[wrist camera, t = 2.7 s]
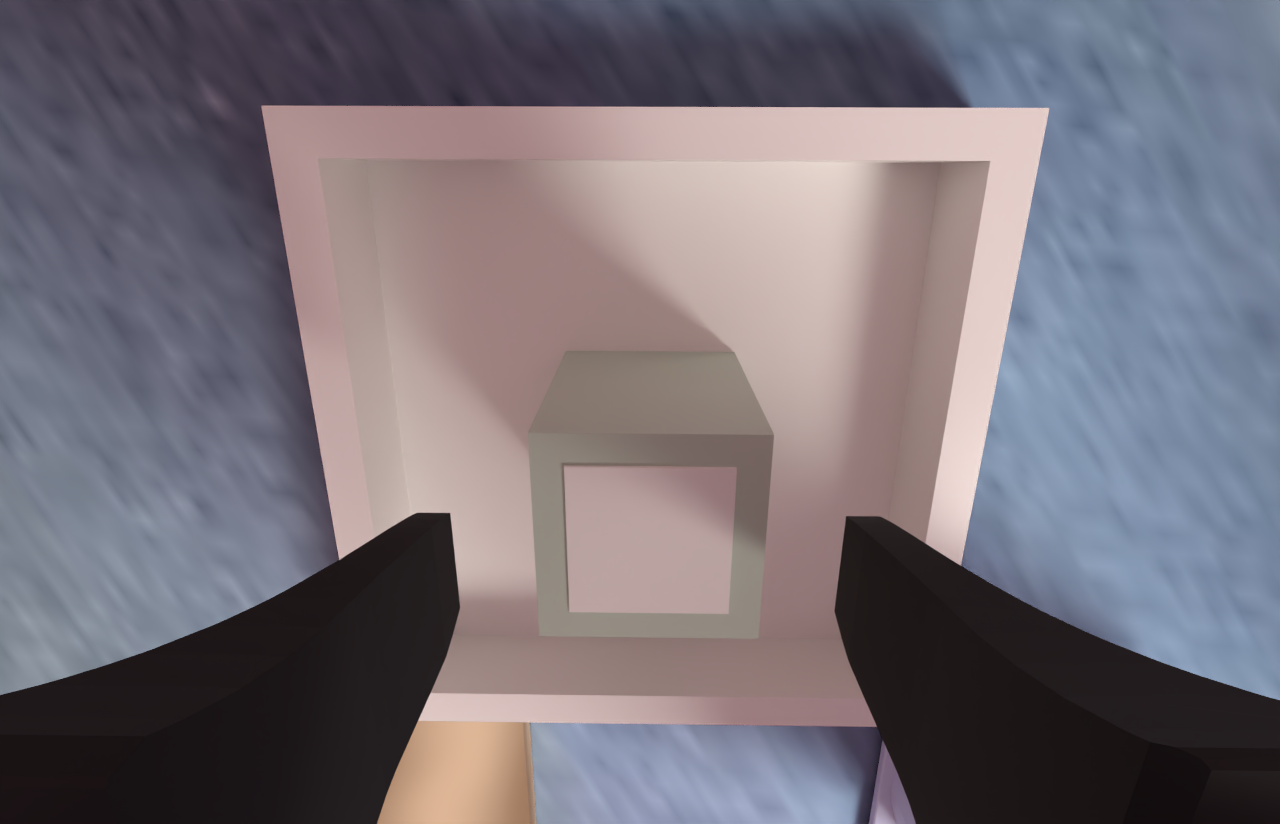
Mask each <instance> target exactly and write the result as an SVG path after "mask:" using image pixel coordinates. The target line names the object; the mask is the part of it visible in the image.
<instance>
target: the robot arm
mask: <svg viewBox="0 0 1280 824" xmlns="http://www.w3.org/2000/svg"><path fill="white" fill-rule="evenodd" d="M459 610H460V601H459V591H458V582H457V572H456V563H455V553H454V544H453V534H452V524H451V515H450V513H415V514H413V515H411V516H409V517H407V518H406V519H404V520H402V521H401V522H399V523H397V524H396V525H394V526H392V527H391V528H389V529H387V530H386V531H384V532H383V533H381V534H380V535H378V536H376V537H375V538H373V539H372V540H370V541H369V542H367V543H365V544H364V545H362V546H361V547H359V548H357V549H356V550H354V551H353V552H351V553H349V554H348V555H346V556H345V557H343V558H341V559H340V560H338V561H337V562H335V563H333V564H331V565H330V566H328V567H326V568H324V569H323V570H321V571H319V572H317V573H316V574H314V575H312V576H310V577H309V578H307V579H305V580H303V581H302V582H300V583H298V584H297V585H295V586H293V587H291V588H290V589H288V590H286V591H284V592H282V593H280V594H278V595H276V596H275V597H273V598H271V599H269V600H267V601H265V602H263V603H261V604H259V605H257V606H255V607H252V608H250V609H248V610H246V611H244V612H242V613H240V614H237V615H235V616H233V617H231V618H229V619H227V620H224V621H222V622H220V623H218V624H215V625H213V626H210V627H208V628H205V629H203V630H200V631H198V632H195V633H193V634H190V635H188V636H185V637H183V638H180V639H177V640H175V641H172V642H170V643H167V644H165V645H162V646H160V647H157V648H155V649H152V650H149V651H147V652H144V653H141V654H138V655H135V656H132V657H129V658H126V659H123V660H120V661H117V662H114V663H111V664H108V665H105V666H102V667H99V668H96V669H93V670H89V671H86V672H83V673H80V674H76V675H73V676H70V677H67V678H63V679H60V680H56V681H53V682H49V683H46V684H42V685H39V686H35V687H31V688H27V689H23V690H19V691H15V692H11V693H7V694H3V695H0V824H377V822H378V819H379V816H380V813H381V810H382V807H383V804H384V801H385V798H386V795H387V792H388V790H389V787H390V785H391V782H392V780H393V777H394V774H395V772H396V769H397V767H398V765H399V763H400V760H401V758H402V756H403V754H404V751H405V749H406V747H407V745H408V742H409V740H410V738H411V736H412V733H413V731H414V729H415V727H416V724H417V722H418V720H419V718H420V715H421V713H422V711H423V709H424V707H425V704H426V702H427V700H428V698H429V695H430V693H431V691H432V689H433V686H434V684H435V682H436V679H437V677H438V675H439V672H440V670H441V668H442V665H443V663H444V661H445V658H446V656H447V653H448V649H449V646H450V643H451V639H452V636H453V633H454V629H455V625H456V621H457V618H458V614H459ZM834 612H835V615H836V619H837V623H838V627H839V630H840V634H841V638H842V641H843V645H844V648H845V651H846V655H847V658H848V661H849V664H850V666H851V668H852V671H853V673H854V675H855V678H856V680H857V682H858V685H859V687H860V689H861V692H862V694H863V696H864V699H865V701H866V703H867V705H868V708H869V710H870V712H871V714H872V717H873V719H874V721H875V723H876V726H877V728H878V730H879V732H880V735H881V737H882V739H883V741H882V747H881V753H880V759H879V765H878V771H877V777H876V783H875V789H874V795H873V802H872V808H871V814H870V820H869V824H1280V700H1276V699H1272V698H1269V697H1265V696H1262V695H1258V694H1255V693H1252V692H1249V691H1245V690H1242V689H1239V688H1236V687H1233V686H1230V685H1227V684H1223V683H1220V682H1217V681H1214V680H1211V679H1208V678H1205V677H1201V676H1198V675H1195V674H1193V673H1190V672H1187V671H1184V670H1181V669H1178V668H1175V667H1173V666H1170V665H1167V664H1164V663H1161V662H1159V661H1156V660H1153V659H1151V658H1148V657H1146V656H1143V655H1141V654H1138V653H1136V652H1133V651H1130V650H1128V649H1125V648H1123V647H1120V646H1118V645H1115V644H1113V643H1110V642H1108V641H1105V640H1103V639H1101V638H1098V637H1096V636H1094V635H1091V634H1089V633H1087V632H1084V631H1082V630H1080V629H1078V628H1076V627H1074V626H1072V625H1070V624H1067V623H1065V622H1063V621H1061V620H1059V619H1057V618H1055V617H1053V616H1050V615H1048V614H1046V613H1044V612H1042V611H1040V610H1038V609H1036V608H1034V607H1032V606H1030V605H1028V604H1027V603H1025V602H1023V601H1021V600H1019V599H1017V598H1015V597H1014V596H1012V595H1010V594H1008V593H1007V592H1005V591H1003V590H1001V589H999V588H998V587H996V586H994V585H992V584H990V583H989V582H987V581H985V580H984V579H982V578H980V577H978V576H977V575H975V574H973V573H972V572H970V571H968V570H967V569H965V568H964V567H962V566H960V565H959V564H957V563H955V562H954V561H952V560H951V559H949V558H947V557H946V556H944V555H943V554H941V553H940V552H938V551H936V550H935V549H933V548H932V547H930V546H929V545H927V544H926V543H924V542H922V541H921V540H919V539H918V538H916V537H915V536H913V535H911V534H910V533H908V532H907V531H905V530H903V529H902V528H900V527H899V526H897V525H895V524H894V523H892V522H890V521H888V520H886V519H884V518H882V517H880V516H846V521H845V529H844V537H843V545H842V553H841V561H840V569H839V578H838V586H837V594H836V602H835V610H834Z"/></svg>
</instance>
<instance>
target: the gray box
mask: <svg viewBox="0 0 1280 824" xmlns="http://www.w3.org/2000/svg"><path fill="white" fill-rule="evenodd" d="M773 443H774V433H773V431H772V429H771V427H770V425H769V423H768V421H767V419H766V417H765V415H764V413H763V411H762V409H761V406H760V404H759V402H758V400H757V398H756V396H755V394H754V392H753V390H752V388H751V386H750V384H749V382H748V379H747V377H746V375H745V373H744V371H743V369H742V367H741V365H740V363H739V361H738V359H737V357H736V354H735V352H681V351H566V352H565V354H564V356H563V358H562V361H561V363H560V365H559V367H558V369H557V371H556V373H555V376H554V378H553V380H552V382H551V384H550V386H549V388H548V390H547V393H546V395H545V397H544V399H543V401H542V403H541V405H540V408H539V410H538V412H537V414H536V416H535V418H534V420H533V422H532V425H531V427H530V429H529V431H528V447H529V464H530V482H531V500H532V517H533V535H534V552H535V570H536V587H537V605H538V622H539V636H559V637H646V638H734V639H758V636H759V623H760V611H761V598H762V585H763V572H764V559H765V546H766V533H767V520H768V507H769V494H770V482H771V469H772V456H773Z"/></svg>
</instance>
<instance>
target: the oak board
mask: <svg viewBox="0 0 1280 824" xmlns="http://www.w3.org/2000/svg"><path fill="white" fill-rule="evenodd" d="M377 824H536V809H535V794H534V779H533V764H532V749H531V734H530V722H457V721H418V722H417V724H416V727H415V729H414V731H413V733H412V736H411V738H410V740H409V742H408V745H407V747H406V749H405V751H404V754H403V756H402V758H401V760H400V763H399V765H398V767H397V769H396V772H395V774H394V777H393V780H392V782H391V785H390V787H389V790H388V792H387V795H386V798H385V801H384V804H383V807H382V810H381V813H380V816H379V819H378V822H377Z"/></svg>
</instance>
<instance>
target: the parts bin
mask: <svg viewBox="0 0 1280 824" xmlns="http://www.w3.org/2000/svg"><path fill="white" fill-rule="evenodd" d="M261 107H262V113H263V119H264V125H265V131H266V136H267V142H268V148H269V154H270V160H271V165H272V171H273V177H274V183H275V189H276V195H277V200H278V206H279V212H280V218H281V224H282V230H283V235H284V241H285V247H286V253H287V259H288V265H289V270H290V276H291V282H292V288H293V294H294V299H295V305H296V311H297V317H298V323H299V329H300V334H301V340H302V346H303V352H304V358H305V364H306V369H307V375H308V381H309V387H310V393H311V398H312V404H313V410H314V416H315V422H316V428H317V433H318V439H319V445H320V451H321V457H322V463H323V468H324V474H325V480H326V486H327V492H328V497H329V503H330V509H331V515H332V521H333V527H334V532H335V538H336V544H337V550H338V556H339V560H340V559H341V558H343V557H345V556H346V555H348V554H349V553H351V552H353V551H354V550H356V549H357V548H359V547H361V546H362V545H364V544H365V543H367V542H369V541H370V540H372V539H373V538H375V537H376V536H378V535H380V534H381V533H383V532H384V531H386V530H387V529H389V528H391V527H392V526H394V525H396V524H397V523H399V522H401V521H402V520H404V519H406V518H407V517H409V516H411V515H413V514H415V513H450V515H451V524H452V534H453V544H454V553H455V563H456V572H457V582H458V591H459V601H460V610H459V614H458V618H457V621H456V625H455V629H454V633H453V636H452V639H451V643H450V646H449V649H448V653H447V656H446V658H445V661H444V663H443V665H442V668H441V670H440V672H439V675H438V677H437V679H436V682H435V684H434V686H433V689H432V691H431V693H430V695H429V698H428V700H427V702H426V704H425V707H424V709H423V711H422V713H421V715H420V718H419V720H418V721H457V722H535V723H613V724H691V725H769V726H848V727H877V726H876V723H875V721H874V719H873V717H872V714H871V712H870V710H869V708H868V705H867V703H866V701H865V699H864V696H863V694H862V692H861V689H860V687H859V685H858V682H857V680H856V678H855V675H854V673H853V671H852V668H851V666H850V664H849V661H848V658H847V655H846V651H845V648H844V645H843V641H842V638H841V634H840V630H839V627H838V623H837V619H836V615H835V612H834V610H835V602H836V594H837V586H838V578H839V569H840V561H841V553H842V545H843V537H844V529H845V521H846V516H880V517H882V518H884V519H886V520H888V521H890V522H892V523H894V524H895V525H897V526H899V527H900V528H902V529H903V530H905V531H907V532H908V533H910V534H911V535H913V536H915V537H916V538H918V539H919V540H921V541H922V542H924V543H926V544H927V545H929V546H930V547H932V548H933V549H935V550H936V551H938V552H940V553H941V554H943V555H944V556H946V557H947V558H949V559H951V560H952V561H954V562H955V563H957V564H959V565H960V566H961V563H962V557H963V552H964V547H965V542H966V537H967V532H968V526H969V521H970V516H971V511H972V506H973V501H974V495H975V490H976V485H977V480H978V475H979V470H980V464H981V459H982V454H983V449H984V444H985V439H986V433H987V428H988V423H989V418H990V413H991V407H992V402H993V397H994V392H995V387H996V382H997V376H998V371H999V366H1000V361H1001V356H1002V351H1003V345H1004V340H1005V335H1006V330H1007V325H1008V320H1009V314H1010V309H1011V304H1012V299H1013V294H1014V288H1015V283H1016V278H1017V273H1018V268H1019V263H1020V257H1021V252H1022V247H1023V242H1024V237H1025V232H1026V226H1027V221H1028V216H1029V211H1030V206H1031V201H1032V195H1033V190H1034V185H1035V180H1036V175H1037V170H1038V164H1039V159H1040V154H1041V149H1042V144H1043V138H1044V133H1045V128H1046V123H1047V118H1048V113H1049V108H856V107H540V106H261ZM566 351H681V352H735V354H736V357H737V359H738V361H739V363H740V365H741V367H742V369H743V371H744V373H745V375H746V377H747V379H748V382H749V384H750V386H751V388H752V390H753V392H754V394H755V396H756V398H757V400H758V402H759V404H760V406H761V409H762V411H763V413H764V415H765V417H766V419H767V421H768V423H769V425H770V427H771V429H772V431H773V433H774V443H773V456H772V469H771V482H770V494H769V507H768V520H767V533H766V546H765V559H764V572H763V585H762V598H761V611H760V623H759V636H758V639H734V638H646V637H559V636H539V622H538V605H537V587H536V570H535V552H534V535H533V517H532V500H531V482H530V464H529V447H528V431H529V429H530V427H531V425H532V422H533V420H534V418H535V416H536V414H537V412H538V410H539V408H540V405H541V403H542V401H543V399H544V397H545V395H546V393H547V390H548V388H549V386H550V384H551V382H552V380H553V378H554V376H555V373H556V371H557V369H558V367H559V365H560V363H561V361H562V358H563V356H564V354H565V352H566Z"/></svg>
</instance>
